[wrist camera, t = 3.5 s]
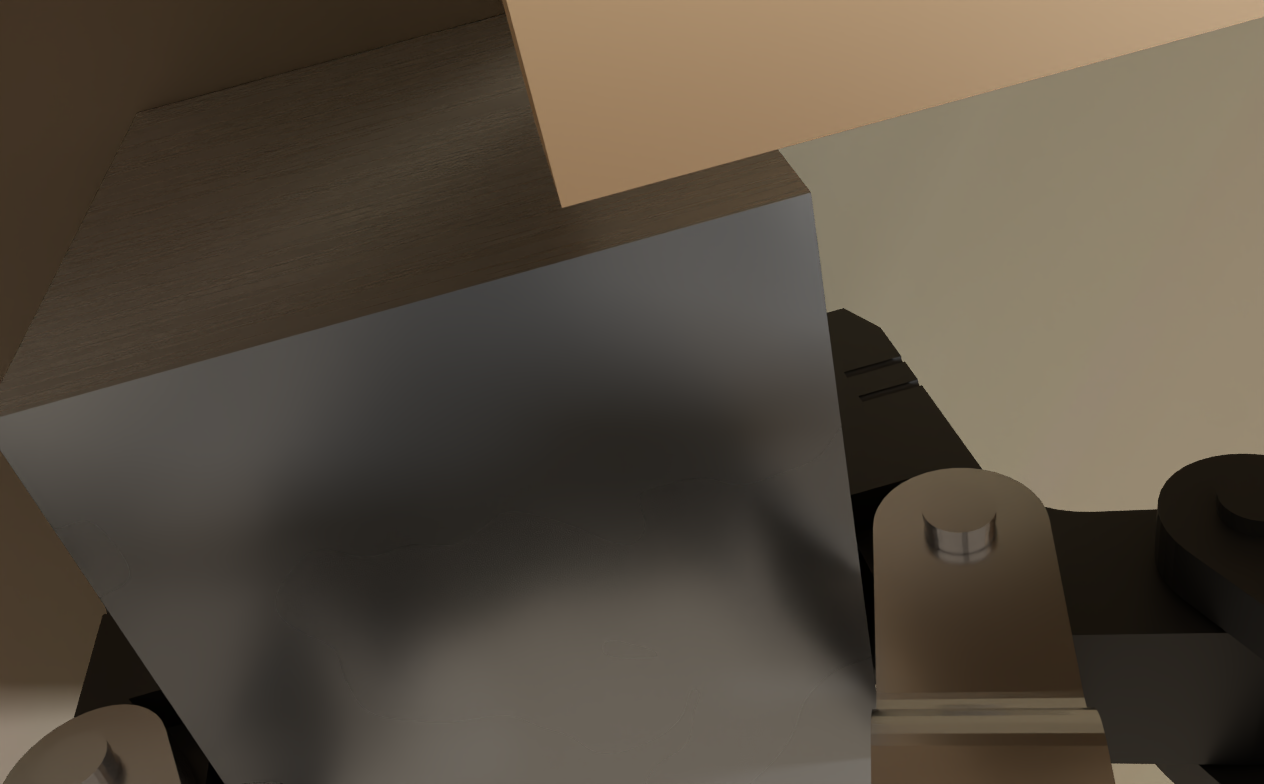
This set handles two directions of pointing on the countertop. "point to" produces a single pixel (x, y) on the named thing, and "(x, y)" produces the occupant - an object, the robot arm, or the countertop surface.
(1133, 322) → the countertop surface
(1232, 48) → the countertop surface
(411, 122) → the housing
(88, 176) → the countertop surface
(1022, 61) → the stand
